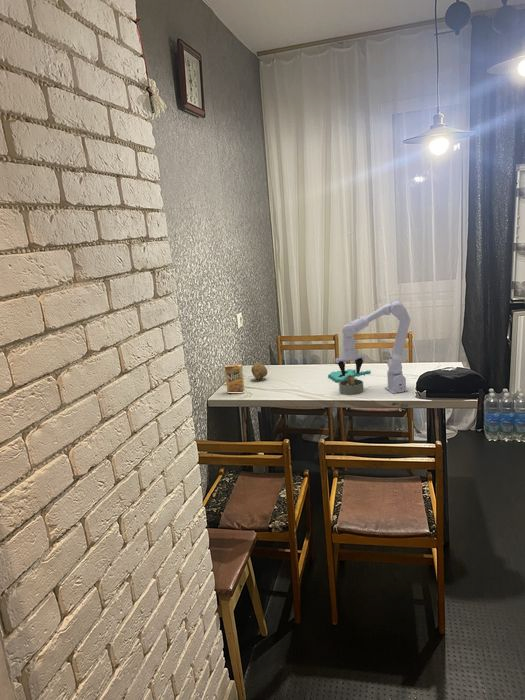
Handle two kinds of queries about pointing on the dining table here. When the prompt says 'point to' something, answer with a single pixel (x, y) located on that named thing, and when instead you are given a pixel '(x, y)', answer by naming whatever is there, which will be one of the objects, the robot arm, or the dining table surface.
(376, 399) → the dining table surface
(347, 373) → the alien figure
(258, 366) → the natural sponge
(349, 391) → the grey round bowl
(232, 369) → the candy box
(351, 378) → the wood wick
